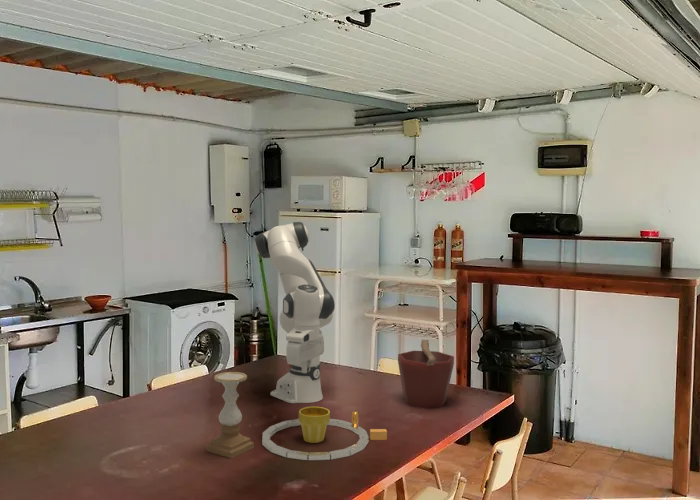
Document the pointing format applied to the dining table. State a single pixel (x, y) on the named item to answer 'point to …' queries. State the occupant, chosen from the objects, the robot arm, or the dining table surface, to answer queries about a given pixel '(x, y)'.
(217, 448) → the candle holder
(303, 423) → the plant pot
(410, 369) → the bucket
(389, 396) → the dining table surface
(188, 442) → the dining table surface
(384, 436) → the pointer block
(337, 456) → the ring
